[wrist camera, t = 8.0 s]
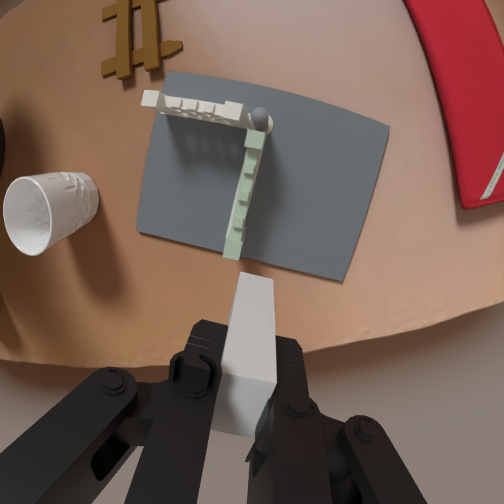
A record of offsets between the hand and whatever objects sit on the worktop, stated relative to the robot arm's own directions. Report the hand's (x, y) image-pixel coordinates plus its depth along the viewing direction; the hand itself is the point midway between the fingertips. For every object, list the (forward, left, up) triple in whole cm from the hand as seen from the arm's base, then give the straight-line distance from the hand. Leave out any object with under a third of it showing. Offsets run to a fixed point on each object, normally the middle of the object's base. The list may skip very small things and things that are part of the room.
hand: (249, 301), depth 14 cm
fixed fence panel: (-8, +9, -18) cm, 22 cm away
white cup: (-22, -3, -19) cm, 29 cm away
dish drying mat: (+20, +29, -19) cm, 40 cm away
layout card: (-1, +4, -18) cm, 19 cm away
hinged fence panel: (-2, +4, -17) cm, 18 cm away
